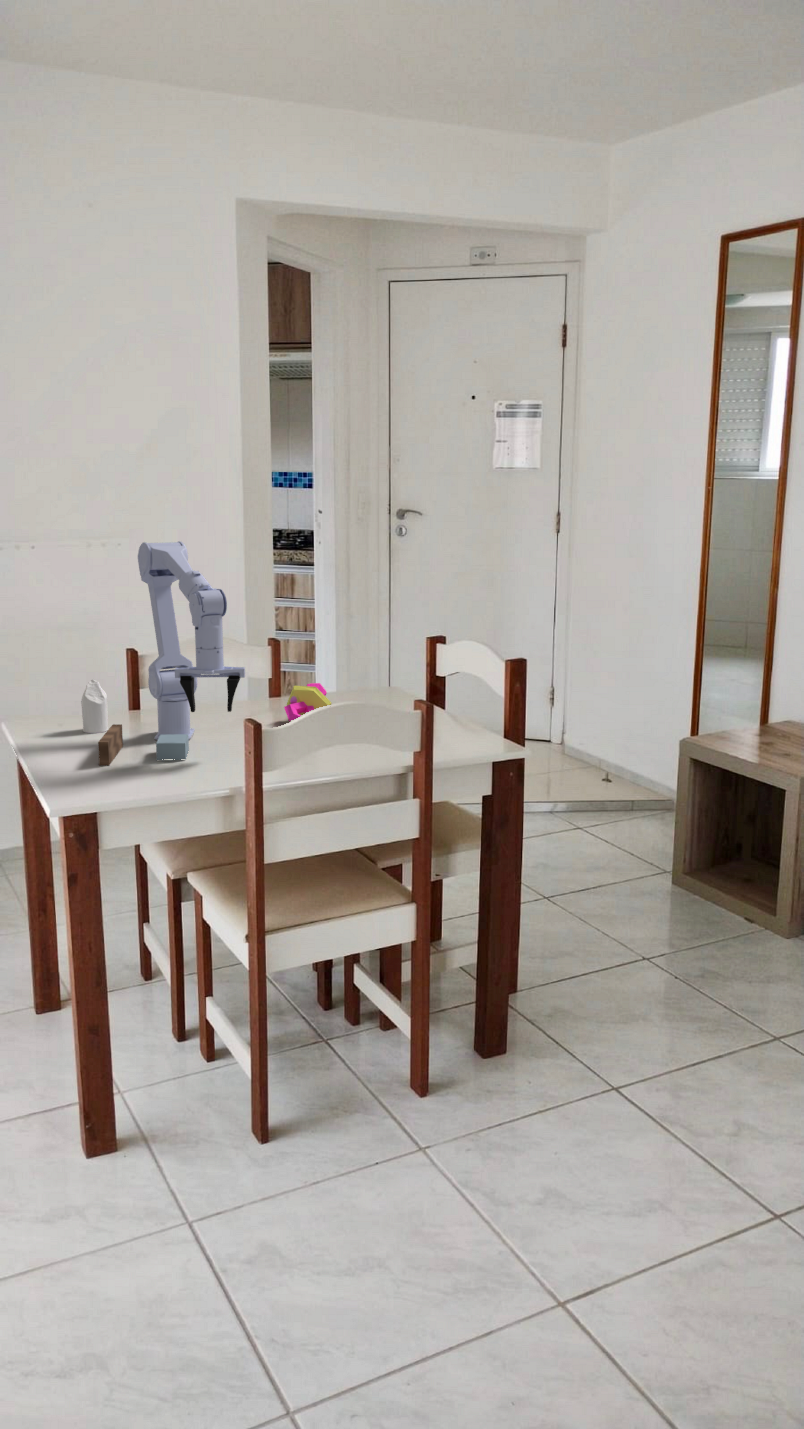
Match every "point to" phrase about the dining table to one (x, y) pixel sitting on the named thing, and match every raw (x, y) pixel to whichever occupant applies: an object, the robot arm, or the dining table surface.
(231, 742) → the dining table surface
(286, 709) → the toy
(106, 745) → the walnut board
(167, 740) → the slate block
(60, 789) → the dining table surface
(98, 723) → the crumpled white cylinder
